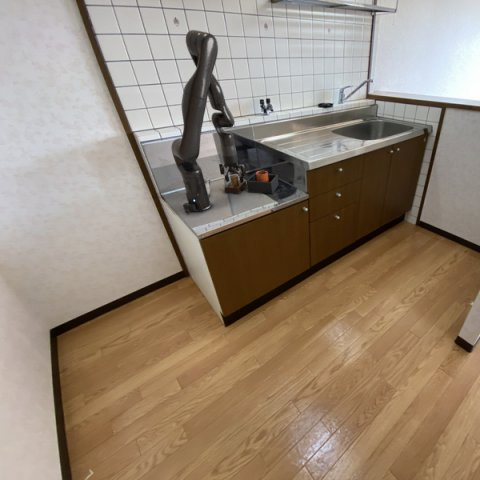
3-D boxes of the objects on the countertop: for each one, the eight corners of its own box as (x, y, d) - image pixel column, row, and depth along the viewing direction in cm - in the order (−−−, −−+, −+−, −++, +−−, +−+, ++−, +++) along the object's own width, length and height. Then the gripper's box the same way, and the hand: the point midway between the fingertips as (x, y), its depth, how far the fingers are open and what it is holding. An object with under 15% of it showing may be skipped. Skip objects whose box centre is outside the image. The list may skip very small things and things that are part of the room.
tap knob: (240, 182, 154) (238, 174, 152) (236, 185, 151) (235, 177, 148) (233, 182, 155) (232, 174, 152) (230, 184, 152) (228, 176, 149)
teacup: (198, 202, 141) (193, 188, 136) (186, 197, 146) (182, 183, 142) (220, 193, 150) (217, 179, 145) (209, 188, 155) (205, 175, 151)
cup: (267, 190, 152) (265, 175, 146) (256, 189, 153) (254, 174, 147) (270, 185, 157) (269, 171, 152) (260, 185, 158) (258, 170, 153)
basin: (272, 193, 149) (271, 182, 146) (248, 191, 151) (246, 181, 148) (278, 185, 159) (277, 174, 155) (255, 183, 161) (254, 173, 157)
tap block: (239, 193, 150) (238, 188, 148) (225, 192, 151) (224, 187, 149) (246, 185, 159) (245, 180, 157) (233, 184, 160) (232, 179, 158)
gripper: (213, 154, 141) (220, 183, 151) (238, 156, 139) (244, 185, 148) (220, 150, 147) (226, 178, 157) (244, 151, 145) (249, 180, 154)
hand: (234, 182), depth 152 cm, fingers open, 8 cm apart
